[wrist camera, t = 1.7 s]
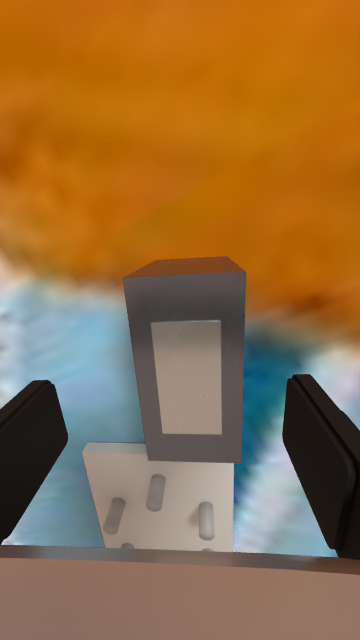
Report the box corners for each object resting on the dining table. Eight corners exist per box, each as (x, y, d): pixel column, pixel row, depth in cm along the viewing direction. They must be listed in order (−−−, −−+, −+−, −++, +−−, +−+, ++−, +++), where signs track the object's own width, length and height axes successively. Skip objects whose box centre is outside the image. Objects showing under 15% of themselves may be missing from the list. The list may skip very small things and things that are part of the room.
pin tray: (232, 445, 22) (237, 482, 19) (231, 576, 29) (234, 621, 25) (87, 442, 24) (68, 476, 20) (117, 567, 30) (106, 609, 27)
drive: (226, 256, 17) (246, 272, 9) (226, 379, 20) (241, 465, 13) (156, 260, 18) (121, 278, 10) (167, 379, 21) (147, 462, 13)
